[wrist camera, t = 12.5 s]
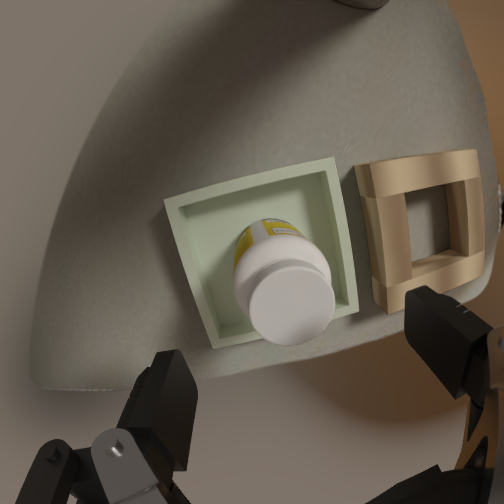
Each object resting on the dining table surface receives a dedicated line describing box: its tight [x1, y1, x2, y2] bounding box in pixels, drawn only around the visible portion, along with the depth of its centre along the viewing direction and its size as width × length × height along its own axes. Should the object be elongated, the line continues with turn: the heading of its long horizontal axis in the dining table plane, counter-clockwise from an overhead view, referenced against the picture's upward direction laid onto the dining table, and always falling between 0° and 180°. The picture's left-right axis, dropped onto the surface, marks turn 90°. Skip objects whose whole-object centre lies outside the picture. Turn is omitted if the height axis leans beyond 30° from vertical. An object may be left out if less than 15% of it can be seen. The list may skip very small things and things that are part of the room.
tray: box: [164, 157, 359, 349], centre depth 21 cm, size 12×12×2 cm
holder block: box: [354, 149, 485, 315], centre depth 21 cm, size 12×12×3 cm
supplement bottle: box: [233, 218, 335, 346], centre depth 17 cm, size 5×5×10 cm
